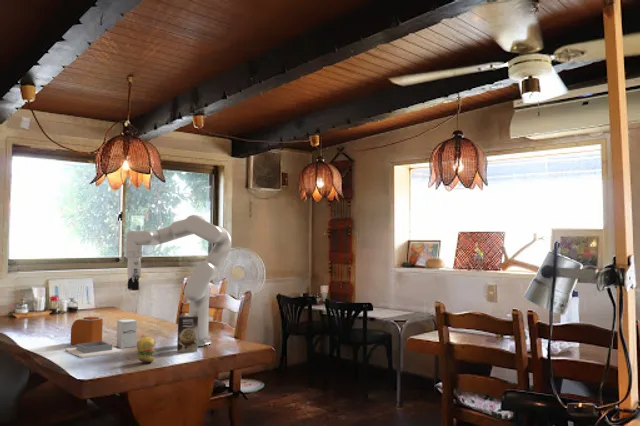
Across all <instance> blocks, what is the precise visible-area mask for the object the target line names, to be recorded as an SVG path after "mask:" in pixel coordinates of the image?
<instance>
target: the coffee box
mask: <svg viewBox="0 0 640 426" xmlns="http://www.w3.org/2000/svg"><path fill="white" fill-rule="evenodd" d="M197 342H198V316H197V315H193V316H189V315H177V340H176V343H177V344H176V352H177V353H195V352H194V351H197V352H198V346H197Z"/></svg>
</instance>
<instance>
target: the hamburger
mask: <svg viewBox="0 0 640 426" xmlns="http://www.w3.org/2000/svg"><path fill="white" fill-rule="evenodd" d="M140 337H142V338H140V339H139V340H138V341H136V349H137V351H136V352H137V360H138V361H140V362H143V363H152V362H154V361H155V357H154V355H155V353H154V352H155V349H154V347H155V345H156V343H157V342H156V340H155V338H153V337H152V336H145V337H144V334H142V335H140Z"/></svg>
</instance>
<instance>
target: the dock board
mask: <svg viewBox="0 0 640 426" xmlns="http://www.w3.org/2000/svg"><path fill="white" fill-rule="evenodd" d="M64 350H65V352H67V351H68V352H67V353H70V354H72V355H75V356H76V357H78V356H79V357H78V358H80V359H88V358H94V357H96V358H97V357H100V356H101V357H103V356H108V355H110V356H111V355H116V354H124V353H125V351H124V350H122V349H121V348H118V347H115V346H113V343H109V342H107V341H104V340H102V341H99V342H91V343H82V344H76V345H75V347H67V348H65V349H64Z"/></svg>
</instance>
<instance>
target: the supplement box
mask: <svg viewBox="0 0 640 426" xmlns="http://www.w3.org/2000/svg"><path fill="white" fill-rule="evenodd" d="M116 321H117V322H116V348H119V349H123V348H135V347H136V348H137V335H138V334H137V333H138V331H137V330H138V329H137V328H138V325H137V324H138V320H136V319H132V318H131V319H130V318H129V319H119V320H116Z"/></svg>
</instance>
